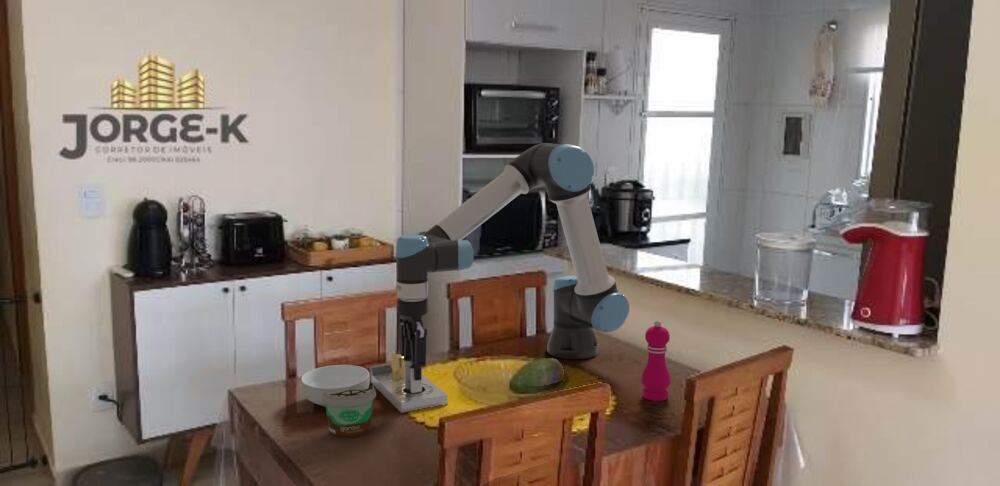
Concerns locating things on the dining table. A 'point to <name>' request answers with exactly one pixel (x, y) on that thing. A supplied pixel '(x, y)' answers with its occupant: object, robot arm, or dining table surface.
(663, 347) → the pepper mill
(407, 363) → the steel bushing
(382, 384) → the plate
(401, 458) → the dining table surface
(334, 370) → the cereal bowl
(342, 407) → the food container
